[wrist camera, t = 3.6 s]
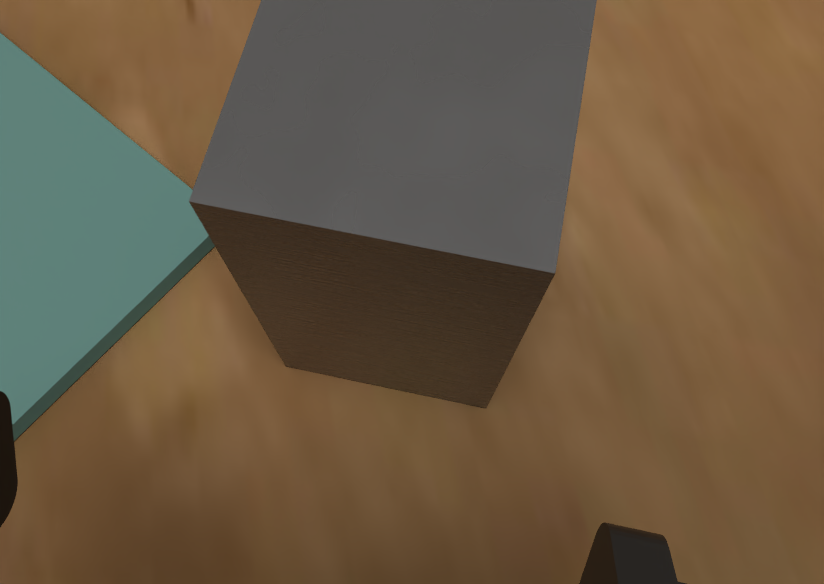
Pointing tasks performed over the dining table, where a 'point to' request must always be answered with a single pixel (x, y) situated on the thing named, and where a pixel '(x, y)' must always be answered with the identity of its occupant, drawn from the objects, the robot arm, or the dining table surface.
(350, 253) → the block
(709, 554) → the dining table surface
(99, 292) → the teal mat
